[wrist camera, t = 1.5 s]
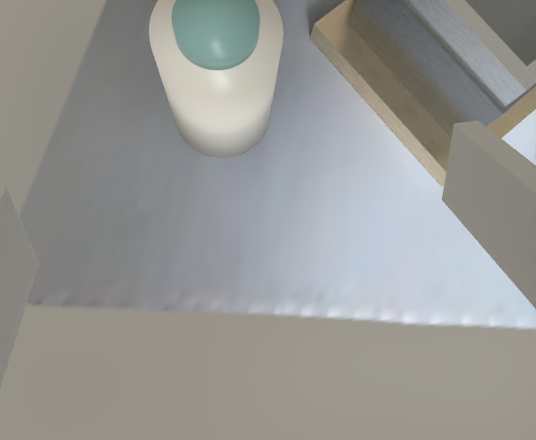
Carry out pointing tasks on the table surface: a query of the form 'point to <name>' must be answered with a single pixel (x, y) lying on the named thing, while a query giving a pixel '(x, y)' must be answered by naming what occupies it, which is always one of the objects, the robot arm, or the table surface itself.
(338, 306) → the table surface
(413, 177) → the table surface
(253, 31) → the cream bottle
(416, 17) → the grey open box
